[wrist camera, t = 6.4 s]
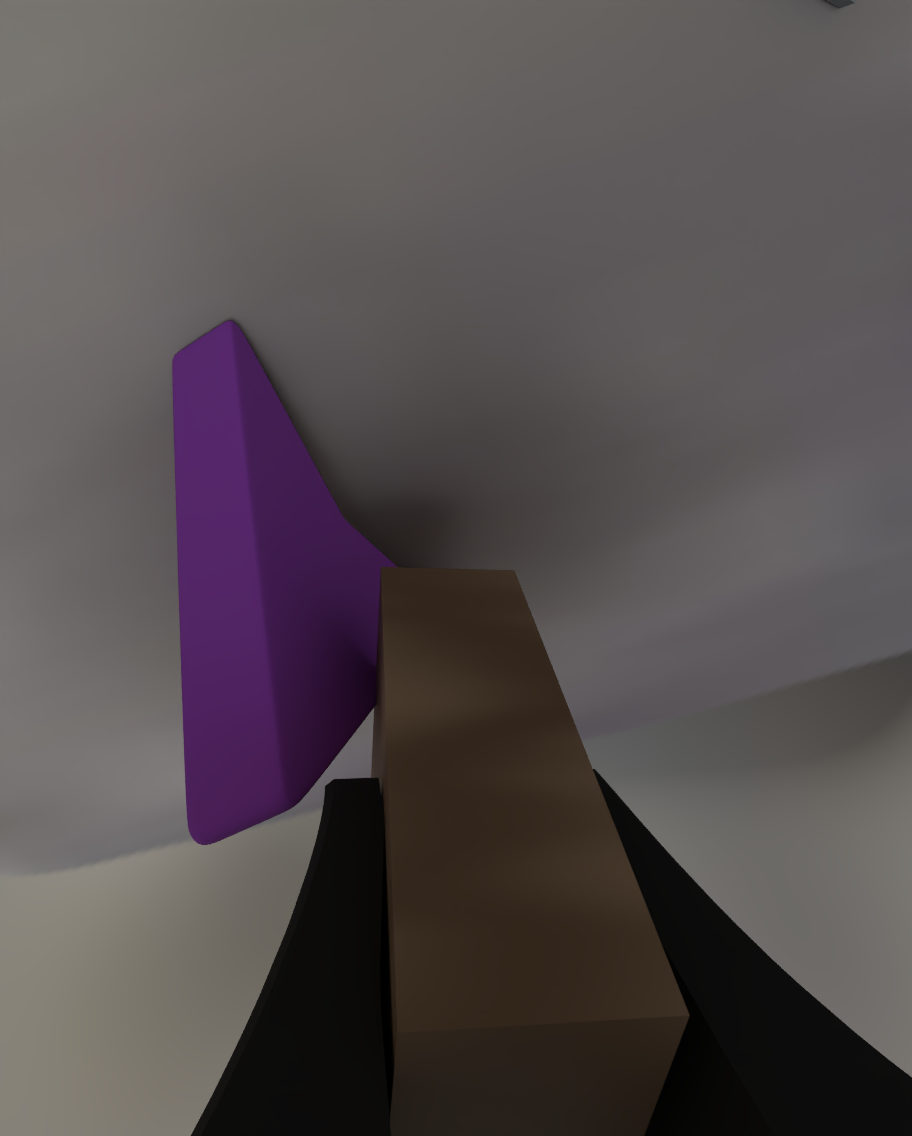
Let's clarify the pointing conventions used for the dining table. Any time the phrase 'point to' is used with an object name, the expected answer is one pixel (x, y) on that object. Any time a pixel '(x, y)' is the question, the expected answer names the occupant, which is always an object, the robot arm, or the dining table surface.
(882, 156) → the dining table surface
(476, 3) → the dining table surface
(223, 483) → the arrowhead
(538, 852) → the tall wooden plank
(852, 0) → the rubber mat
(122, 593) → the dining table surface
